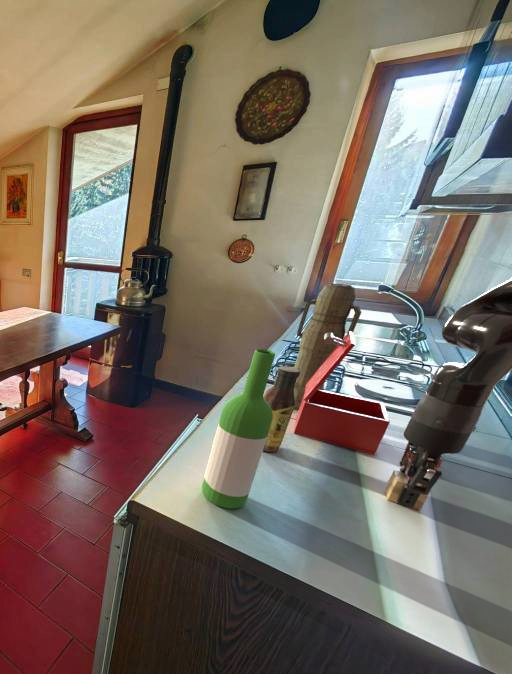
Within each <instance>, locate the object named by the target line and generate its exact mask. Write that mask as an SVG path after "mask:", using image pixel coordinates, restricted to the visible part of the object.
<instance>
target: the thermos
mask: <svg viewBox="0 0 512 674" xmlns="http://www.w3.org/2000/svg"><path fill="white" fill-rule="evenodd" d="M355 299H356V287H354V286H353V285H351V284H346V283H345V284H344V283H329V284H326V285H324V287H323V288H322V289H321V291H320V292H319V293H318V295H317V297H316V299H311V300H310V301H308V302H307V303H306V304H305V305H304V309H303V312H302V315H301V319H300V321H299V325H298V328H297V332H296V336H297V337H299V339H300V341H299V351H298V354H297V357H296V359H295V363H294V366H293V368H295V369H298V370H299V371H300V374H299V377H298V378H297V380H296V383H295V386H294V399H295V407H294V410H296V411H299V408H300V405H301V402H302V399H303V396H304V394H305V387H306V384H307V383H308V381H309V380H310V379H311V378H312V377H313V375H314V374H315V373H316V372H317V370H318V369H319V368H320V367H321V366H322V364H323V363H324V362H325V361H326V359H327V358H328V357H329V356H330V355H331V353H332V352H333V351H334V350H335V348H336V347H337V346H338V345H336V344H334V343H331V344H327V343H325V342H324V335H325V334H326V333H328V332H331V333H333V334H334V337H337V338H339V339H342V340H343V339H344V337H345V336H346V335H347V334H348V333H349V332H352V333H353V334H354V331H355V329H356V326H357V324H358V321H359V319H360V317H361V314H362V310H361V307H360V306H359V305H355V304H354V303H355V301H356V300H355ZM312 304H313V305H314V307H313V310H312V315H311V317H310V319H309V322H308V323H307V324H306V325H305V322H306V319H307V316H308V313H309V310H310V306H311V305H312ZM352 310H353V312H354V314H353V317H352V319H351V322H350V325H349V327H348V330H347V333H346V325H347V319H348V317H349V316H350V314H351V311H352ZM304 325H305V326H304ZM303 328H304V330H303ZM302 331H303V332H302ZM326 380H327V379H326ZM326 380H325V381H324V382H323V384H322V385H321V386H320V387H319V388H318V390H323V391H325V384H326Z"/></svg>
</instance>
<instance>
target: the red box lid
mask: <svg viewBox="0 0 512 674" xmlns="http://www.w3.org/2000/svg"><path fill="white" fill-rule="evenodd" d="M347 333H348V332H347ZM347 333H346V334H345V335H344V338H343V340H342V339H339V338H337V337H334V334H333V333H331V332H328V333H326V334H325V335H324V342H325V343H327V344H331V343H334V344H336V345H338V346H337V347H336V348H335V350H334V351H333V352H332V353H331V355H330V356H329V357H328V358H327V359H326V361H325V362H324V363H323V364H322V366H321V367H320V368H319V369H318V370H317V372H316V373H315V374H314V375H313V377H312V378H311V379H310V380H309V381H308V383H307V384H306V387H305V394H304V401H308V400H309V399H310V398H311V397H312V395H313V394H314V393H315V392H316V391H317V390H318V388H319V387H320V386H321V385H322V384H323V382H324V381H325V380H327V379H328V378H329V377H330V375H331V374H332V373H333V372H334V371H335V370H336V368H337V367H338V366H339V365H340V364H341V363H342V361H343V360H344V359H345V358H346V357H347V355H348V354H349V353H350V352H351V351H352V349H353V348H354V347H355V346H356V340H355V337H354V332H353V333H352V332H349V333H348V334H347ZM325 382H326V381H325Z"/></svg>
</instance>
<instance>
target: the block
mask: <svg viewBox="0 0 512 674" xmlns="http://www.w3.org/2000/svg"><path fill="white" fill-rule="evenodd" d="M407 477H408V476H407V475H406V474H405V473H403V472H400V470H397V469H396V470H395V469H394V470H393V471H392V472H391V475H390V477H389V479H388V481H387V483H386V485H385V486H384V487H385V488H384V490H385V495H386V500H387V501H389V502H392V503H395V504H398V502H397V499H398V497H399V495H400V493H401V491H402V489H403V487H404V483H405V482H406V479H407ZM416 485H421V484H419V483H417V484H416ZM430 493H431V490H430V491H429V493H428V494H427V495H424V494H421V493H420V495H419V497H418V499H417V501H416V503H415V505H414V506H413V507H410V508H412V509H415V510H417V511H421V509H422V508H423V506H424V504H425V502H426V500H427V499H428V497H429V495H430Z"/></svg>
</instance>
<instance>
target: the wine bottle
mask: <svg viewBox="0 0 512 674" xmlns="http://www.w3.org/2000/svg"><path fill="white" fill-rule="evenodd" d="M275 358H276V353H275V351H272V350H268V349H262V348H260V349H258V348H257V349H255V350H254V353H253V356H252V359H251V363H250V365H249V369H248V373H247V375H246V380H245V383H244V387H243V389H242V392H241V393H237V394H235V395H234V396H232V397H230V398H228V400H227V401H226V402H225V403H224V405H223V407H222V409H221V413H220V417H219V421H218V424H217V428H216V431H215V434H214V435H215V436H214V439H213V443H212V446H211V451H210V454H209V456H208V462H207V465H206V468H205V472H204V477H203V481H202V485H201V492H202V494H203V496H204V497H205V498H206V499H207V501H209V502H210V503H212V504H214V505H216V506H218V507H219V508H220V507H221V508H224V509H231V510H234V509H240V508H242V507H243V506H245V504H246V503H247V500H248V497H249V494H250V492H251V489H252V485H253V483H254V481H255V476H256V473H257V470H258V467H259V464H260V461H261V459H262V455H263V452H264V451H263V449H264V446H265V443H266V439H267V436H268V433H269V430H270V427H271V423H272V419H273V413H272V409H271V407H270V405H269V403H268V402H267V401H266V400H265V399H264V395H265V392H266V389H267V388H266V387H267V384H268V380H269V377H270V374H271V371H272V368H273V364H274V360H275Z"/></svg>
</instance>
